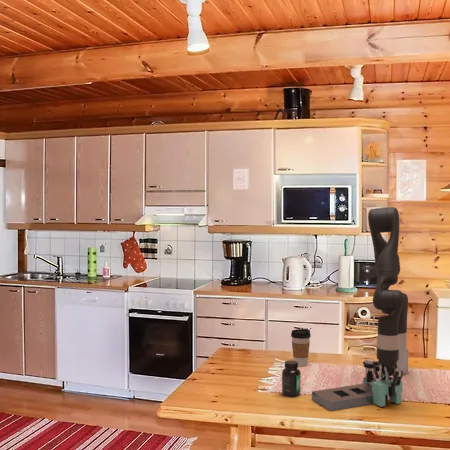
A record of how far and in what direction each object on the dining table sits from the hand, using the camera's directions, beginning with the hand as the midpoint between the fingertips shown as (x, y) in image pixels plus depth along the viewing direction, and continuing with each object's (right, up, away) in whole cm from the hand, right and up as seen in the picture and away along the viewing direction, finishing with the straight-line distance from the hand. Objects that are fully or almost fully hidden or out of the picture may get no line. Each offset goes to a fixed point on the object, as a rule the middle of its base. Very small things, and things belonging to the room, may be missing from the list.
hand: (387, 394), depth 205 cm
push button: (-1, -3, +19) cm, 20 cm away
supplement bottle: (-33, -3, +10) cm, 34 cm away
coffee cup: (-24, -1, +47) cm, 53 cm away
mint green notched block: (0, -3, 0) cm, 3 cm away
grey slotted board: (-12, -3, +4) cm, 13 cm away
